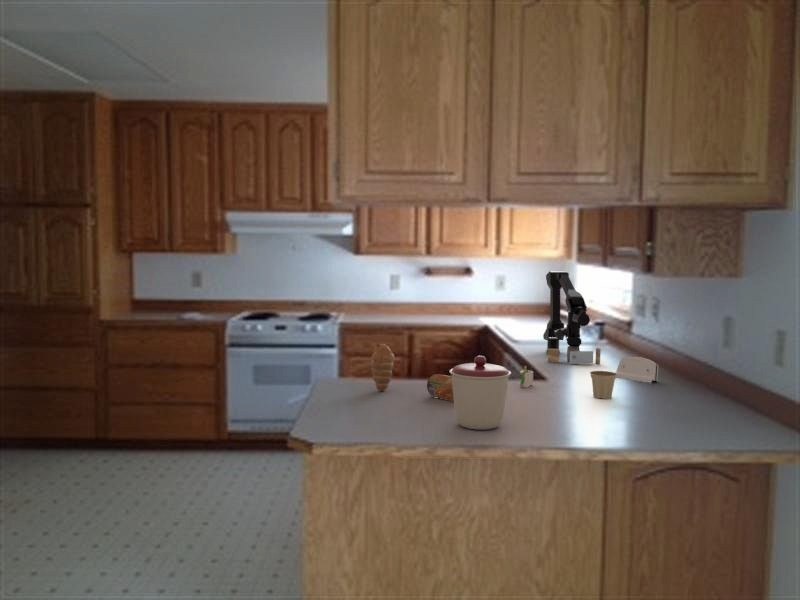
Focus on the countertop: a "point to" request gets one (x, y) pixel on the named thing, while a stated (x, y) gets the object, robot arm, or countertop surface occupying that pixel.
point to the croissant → (382, 365)
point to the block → (571, 348)
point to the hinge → (637, 369)
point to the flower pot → (603, 383)
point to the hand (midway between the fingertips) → (572, 356)
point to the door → (581, 357)
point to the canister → (479, 393)
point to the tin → (440, 386)
